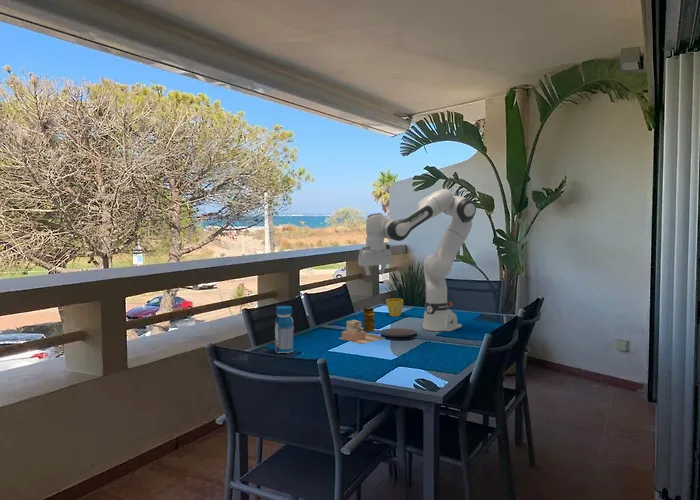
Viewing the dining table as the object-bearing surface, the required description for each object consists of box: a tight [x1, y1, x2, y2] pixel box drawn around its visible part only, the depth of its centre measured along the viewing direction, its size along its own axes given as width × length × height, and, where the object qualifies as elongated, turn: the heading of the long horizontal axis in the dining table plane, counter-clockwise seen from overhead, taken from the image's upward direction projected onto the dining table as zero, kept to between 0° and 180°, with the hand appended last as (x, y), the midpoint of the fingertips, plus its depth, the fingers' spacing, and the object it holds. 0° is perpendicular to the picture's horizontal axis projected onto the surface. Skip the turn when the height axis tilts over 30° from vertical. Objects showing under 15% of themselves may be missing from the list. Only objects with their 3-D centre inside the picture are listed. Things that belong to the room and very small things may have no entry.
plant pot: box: [385, 298, 404, 317], centre depth 298 cm, size 10×10×10 cm
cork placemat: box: [339, 332, 386, 345], centre depth 240 cm, size 17×16×1 cm
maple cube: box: [345, 319, 362, 333], centre depth 238 cm, size 5×5×5 cm
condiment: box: [362, 306, 378, 332], centre depth 257 cm, size 7×8×12 cm
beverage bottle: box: [274, 305, 295, 354], centre depth 217 cm, size 8×8×20 cm
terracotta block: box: [341, 330, 366, 342], centre depth 238 cm, size 8×8×4 cm
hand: (375, 274), depth 242 cm, fingers open, 8 cm apart
